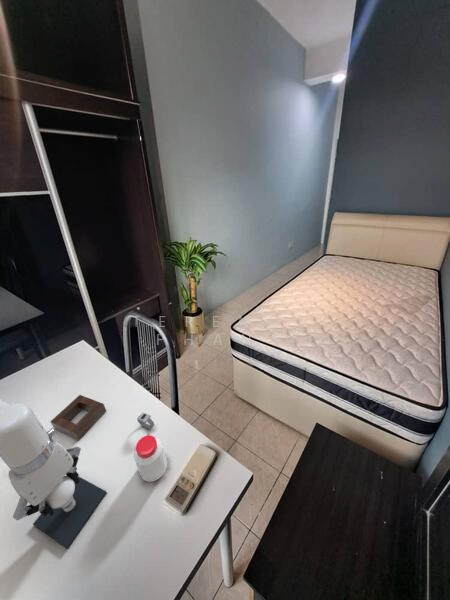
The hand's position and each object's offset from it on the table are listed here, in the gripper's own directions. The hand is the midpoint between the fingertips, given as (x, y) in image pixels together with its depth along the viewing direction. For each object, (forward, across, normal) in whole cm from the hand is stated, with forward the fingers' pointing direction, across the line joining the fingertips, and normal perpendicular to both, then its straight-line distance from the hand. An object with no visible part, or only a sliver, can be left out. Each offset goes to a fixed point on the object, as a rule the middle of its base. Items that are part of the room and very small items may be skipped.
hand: (62, 495), depth 61 cm
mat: (+7, 0, 0) cm, 7 cm away
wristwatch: (+7, -26, +4) cm, 27 cm away
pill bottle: (+7, -16, +14) cm, 22 cm away
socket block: (+7, -20, -20) cm, 29 cm away
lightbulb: (+6, 0, 0) cm, 6 cm away
